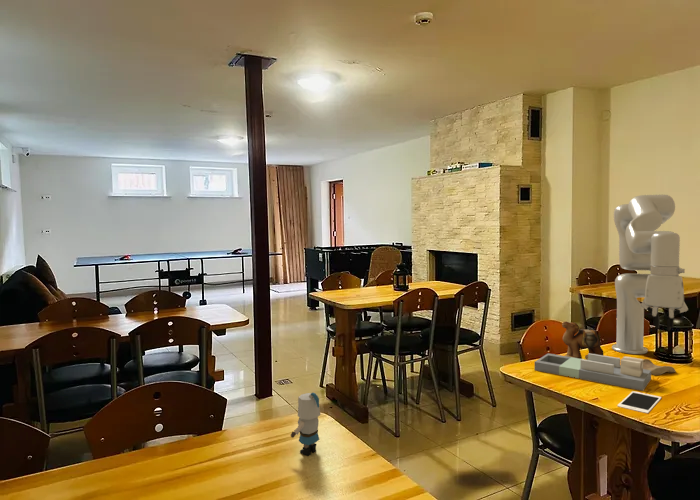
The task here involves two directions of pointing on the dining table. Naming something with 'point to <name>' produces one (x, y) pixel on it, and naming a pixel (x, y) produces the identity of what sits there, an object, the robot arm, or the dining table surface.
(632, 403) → the black and white tile
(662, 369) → the pottery shard
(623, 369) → the block
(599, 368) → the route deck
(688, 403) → the dining table surface
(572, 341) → the figurine
